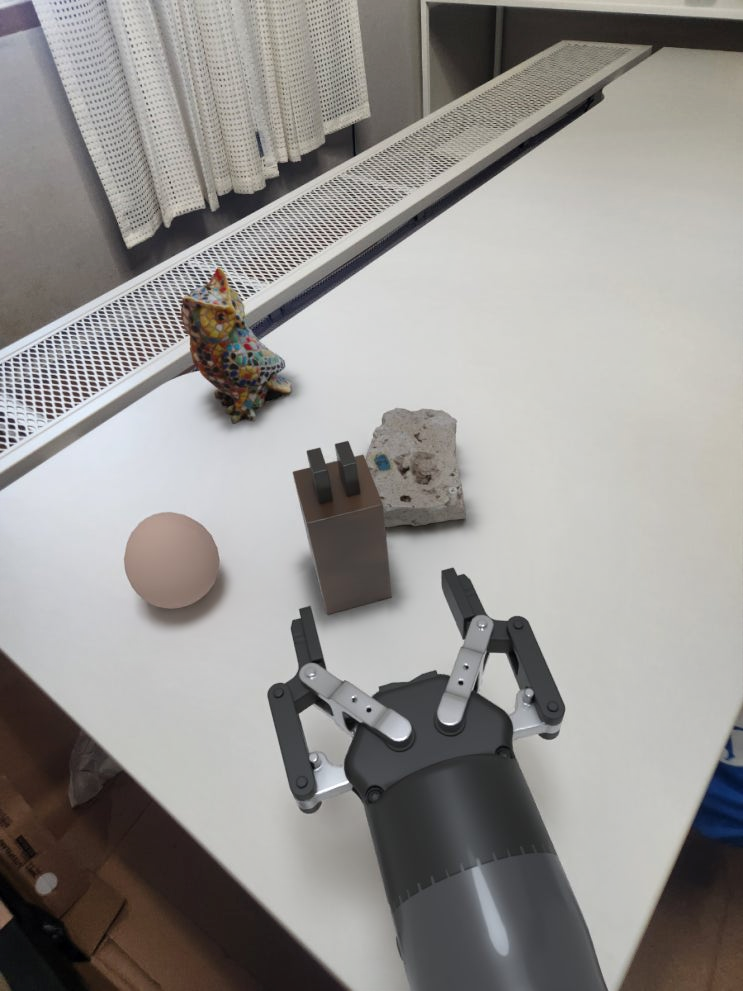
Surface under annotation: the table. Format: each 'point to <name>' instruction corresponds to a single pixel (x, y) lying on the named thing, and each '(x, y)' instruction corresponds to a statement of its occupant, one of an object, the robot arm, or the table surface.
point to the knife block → (344, 528)
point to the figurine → (230, 350)
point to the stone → (416, 467)
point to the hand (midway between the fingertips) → (377, 595)
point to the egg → (171, 560)
